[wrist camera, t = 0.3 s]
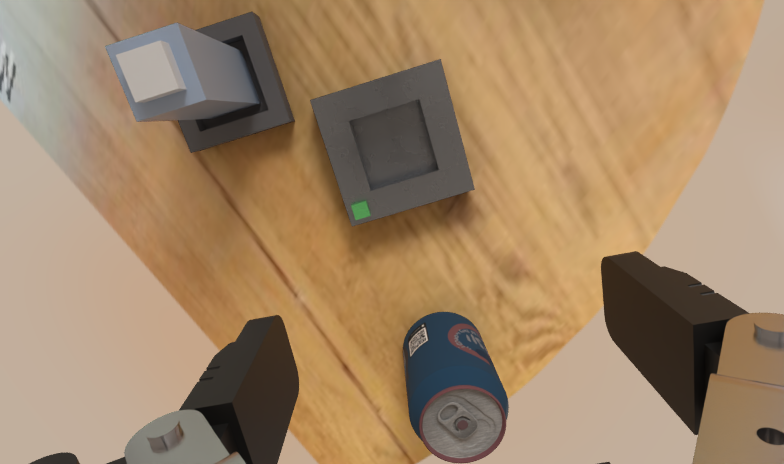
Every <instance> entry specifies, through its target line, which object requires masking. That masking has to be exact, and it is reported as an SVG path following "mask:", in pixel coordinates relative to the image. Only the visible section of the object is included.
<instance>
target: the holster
mask: <svg viewBox="0 0 784 464" xmlns="http://www.w3.org/2000/svg"><path fill="white" fill-rule="evenodd" d="M195 31H197V32H200V33H202V34H204V35H206V36H209V37H211V38H213V39H215V40H218V41H220V42H222V43H225V44H227V45H229V46H231V47H234V48H236V49H238V50H240V51H242V53H243V56H244V58H245V61H246V64H247V67H248V70H249V72H250V75H251V78H252V81H253V84H254V86H255V89H256V92H257V95H258V98H259V100H260V103H261V104H257V105H254V106H251V107H248V108H245V109H242V110H238V111H235V112H232V113H229V114H226V115H223V116H220V117H216V118H213V119H195V120H178V122H179V124H180V127H181V129H182V132H183V134H184V137H185V139H186V142H187V144H188V147H189V149H190V152H191V153H192V152H196V151H201V150H204V149H207V148H210V147H214V146H217V145H220V144H223V143H226V142H230V141H233V140H236V139H239V138H242V137H245V136H249V135H252V134H255V133H258V132H261V131H265V130H268V129H271V128H274V127H277V126H281V125H284V124H287V123H290V122H293V121H295V120H294V117H293V114H292V111H291V108H290V106H289V103H288V100H287V97H286V94H285V91H284V88H283V85H282V82H281V79H280V76H279V74H278V71H277V68H276V65H275V62H274V59H273V56H272V53H271V50H270V47H269V44H268V41H267V39H266V36H265V33H264V30H263V27H262V24H261V21H260V18H259V16H257V15H256V14H255V13H253V12H249V13H246V14H243V15H240V16H237V17H234V18H231V19H228V20H225V21H222V22H219V23H216V24H213V25H210V26H207V27H204V28H201V29H197V30H195Z"/></svg>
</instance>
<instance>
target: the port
mask: <svg viewBox="0 0 784 464" xmlns="http://www.w3.org/2000/svg"><path fill="white" fill-rule="evenodd" d="M310 101H311V104H312V107H313V110H314V114H315V117H316V120H317V123H318V126H319V129H320V132H321V135H322V138H323V141H324V144H325V147H326V150H327V153H328V156H329V159H330V162H331V165H332V168H333V171H334V174H335V177H336V180H337V183H338V186H339V189H340V192H341V195H342V198H343V201H344V204H345V207H346V210H347V213H348V216H349V219H350V222H351V225H352V226H355V225H358V224H362V223H365V222H368V221H372V220H375V219H378V218H382V217H385V216H388V215H392V214H395V213H398V212H402V211H405V210H408V209H412V208H415V207H418V206H422V205H425V204H428V203H432V202H435V201H438V200H442V199H445V198H448V197H452V196H455V195H458V194H462V193H465V192H468V191H471V190H475V189H474V185H473V181H472V177H471V173H470V169H469V166H468V162H467V158H466V154H465V150H464V147H463V143H462V139H461V135H460V131H459V127H458V124H457V120H456V116H455V112H454V108H453V105H452V101H451V97H450V93H449V89H448V85H447V82H446V78H445V74H444V70H443V66H442V63H441V59H439V60H436V61H433V62H430V63H427V64H423V65H420V66H417V67H414V68H411V69H408V70H404V71H401V72H398V73H395V74H392V75H389V76H385V77H382V78H379V79H376V80H373V81H370V82H366V83H363V84H360V85H357V86H354V87H351V88H347V89H344V90H341V91H338V92H335V93H332V94H328V95H325V96H322V97H319V98H316V99H312V100H310Z"/></svg>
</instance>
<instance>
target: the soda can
mask: <svg viewBox="0 0 784 464" xmlns="http://www.w3.org/2000/svg"><path fill="white" fill-rule="evenodd" d="M403 357H404V368H405V378H406V388H407V398H408V408H409V417H410V422H411V425H412V427H413V429H414V431H415V433H416V434H417V435H418V437H419V438H420V439H421V440H422V441H423V443H424V444H425V446H426V447H427V449H428V450H429V451H430V452H431V453H432V454H434V455H435V456H437V457H438V458H440V459H443V460H445V461H448V462H452V463H469V462H473V461H477V460H479V459H482V458H484V457H485V456H487V455H489V454H490V453H491V452H492V451H493V450H494V449H496V448H497V446H498V445H499V444H500V442H501V441H502V439H503V436H504V434H505V430H506V419H507V416H508V398H507V395H506V392H505V390H504V388H503V385H502V383H501V381H500V379H499V376H498V374H497V372H496V370H495V367H494V365H493V363H492V361H491V358H490V356H489V354H488V351H487V349H486V347H485V345H484V342H483V340H482V338H481V336H480V333H479V331H478V330H477V328H476V327H475V326H474V324H473V323H472V322H470V321H469V320H468V319H466V318H465V317H463V316H461V315H459V314H456V313H451V312H437V313H432V314H429V315H427V316H425V317H423V318H421V319H420V320H418V321H417V322H416V323H415V324H414V325H413V326H412V327H411V328H410V330H409V331H408V333H407V335H406V337H405V340H404V344H403Z"/></svg>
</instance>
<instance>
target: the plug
mask: <svg viewBox="0 0 784 464" xmlns="http://www.w3.org/2000/svg"><path fill="white" fill-rule="evenodd" d="M105 48H106V50H107V52H108V55H109V57H110V59H111V62H112V64H113V66H114V69H115V71H116V74H117V76H118V78H119V81H120V83H121V85H122V88H123V90H124V93H125V95H126V97H127V100H128V102H129V104H130V107H131V109H132V111H133V114H134V116H135V119H136V121H137V122H145V121H170V120H195V119H213V118H216V117H220V116H223V115H226V114H229V113H232V112H235V111H238V110H242V109H245V108H248V107H251V106H254V105H257V104H261V103H260V100H259V98H258V95H257V92H256V89H255V86H254V84H253V81H252V78H251V75H250V72H249V70H248V67H247V64H246V61H245V58H244V56H243V53H242V51H240V50H238V49H236V48H234V47H231V46H229V45H227V44H225V43H222V42H220V41H218V40H215V39H213V38H211V37H209V36H206V35H204V34H202V33H200V32H197V31H195V30H193V29H190V28H188V27H186V26H184V25H181V24H179V23H174V24H171V25H168V26H165V27H162V28H159V29H156V30H153V31H150V32H147V33H144V34H141V35H138V36H135V37H131V38H128V39H125V40H122V41H119V42H116V43H113V44H110V45H107V46H105Z"/></svg>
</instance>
